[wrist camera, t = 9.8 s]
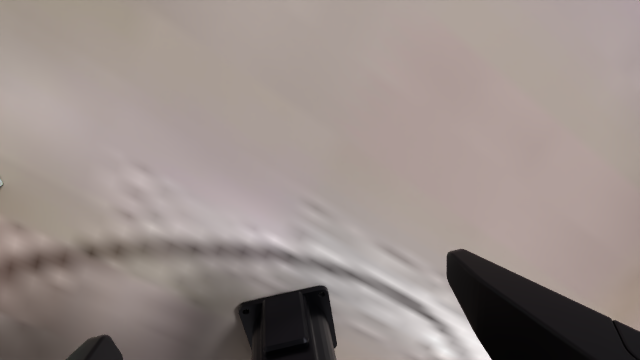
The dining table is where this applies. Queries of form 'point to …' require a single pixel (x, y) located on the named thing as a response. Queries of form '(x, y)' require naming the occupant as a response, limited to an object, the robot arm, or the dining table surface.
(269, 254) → the dining table surface
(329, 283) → the dining table surface
